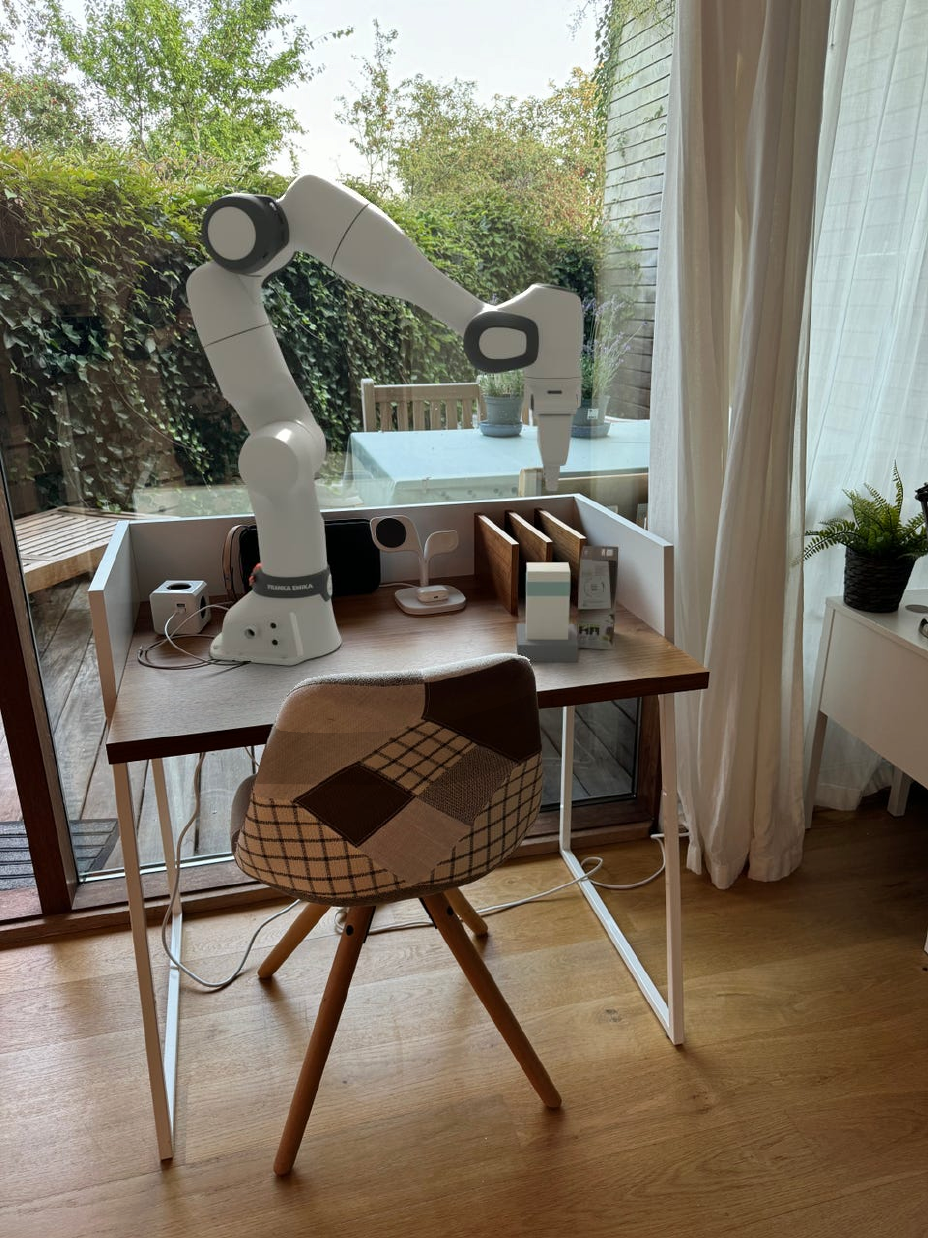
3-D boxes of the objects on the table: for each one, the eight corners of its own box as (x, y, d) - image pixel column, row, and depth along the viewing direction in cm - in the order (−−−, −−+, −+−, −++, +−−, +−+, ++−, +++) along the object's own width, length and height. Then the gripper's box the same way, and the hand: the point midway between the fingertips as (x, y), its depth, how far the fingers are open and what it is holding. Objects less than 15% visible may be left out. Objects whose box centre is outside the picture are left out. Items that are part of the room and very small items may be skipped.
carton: (526, 639, 148) (527, 571, 144) (525, 628, 153) (526, 562, 148) (568, 639, 148) (570, 571, 143) (566, 628, 152) (568, 562, 148)
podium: (517, 661, 147) (517, 645, 146) (516, 639, 156) (516, 623, 155) (577, 661, 146) (578, 645, 145) (572, 639, 156) (573, 623, 155)
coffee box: (612, 650, 151) (617, 560, 145) (575, 648, 152) (578, 558, 146) (615, 631, 159) (619, 545, 153) (579, 629, 160) (582, 544, 155)
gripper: (529, 388, 146) (528, 471, 151) (534, 403, 127) (532, 497, 132) (567, 388, 146) (565, 470, 151) (578, 403, 127) (574, 497, 131)
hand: (550, 483), depth 141 cm, fingers open, 8 cm apart
